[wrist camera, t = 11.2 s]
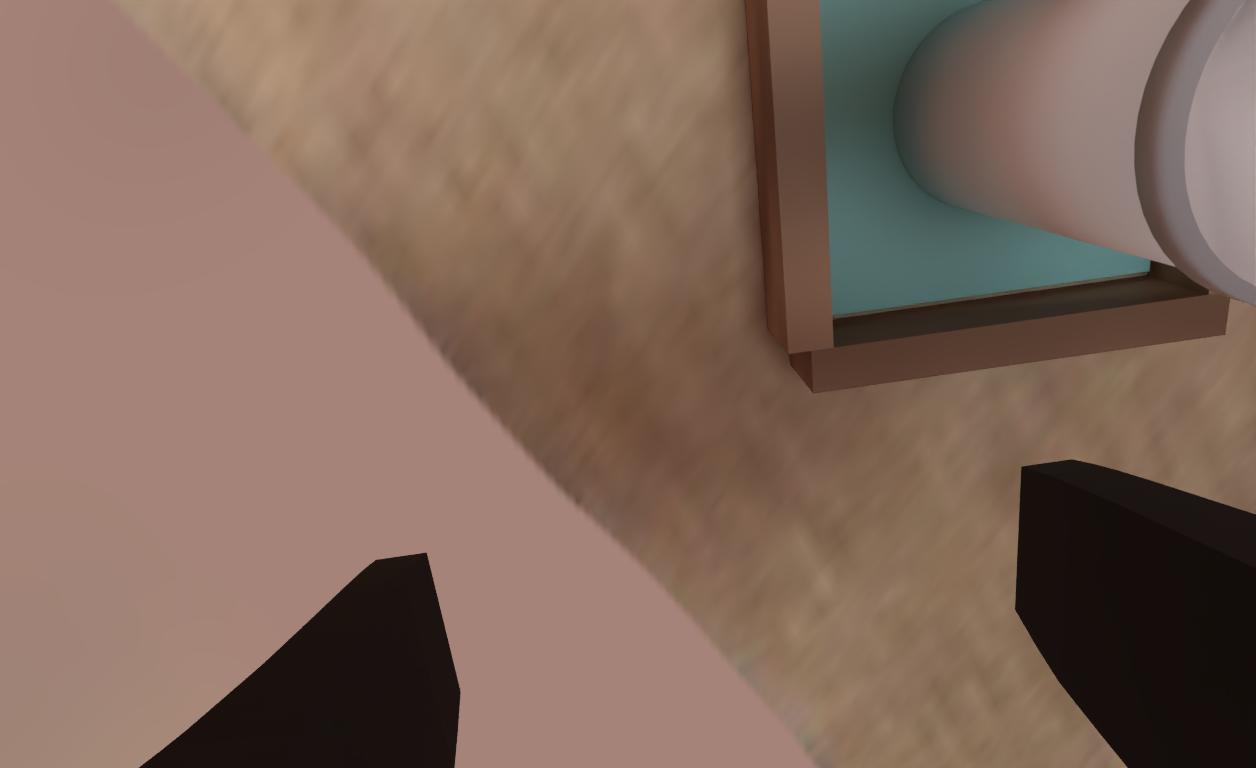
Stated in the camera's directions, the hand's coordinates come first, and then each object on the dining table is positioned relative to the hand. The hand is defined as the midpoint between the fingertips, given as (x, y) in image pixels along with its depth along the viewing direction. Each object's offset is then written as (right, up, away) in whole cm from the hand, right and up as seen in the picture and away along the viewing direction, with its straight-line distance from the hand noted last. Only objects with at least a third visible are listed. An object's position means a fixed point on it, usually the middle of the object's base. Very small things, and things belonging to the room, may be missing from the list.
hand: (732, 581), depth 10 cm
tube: (+7, +8, +8) cm, 14 cm away
